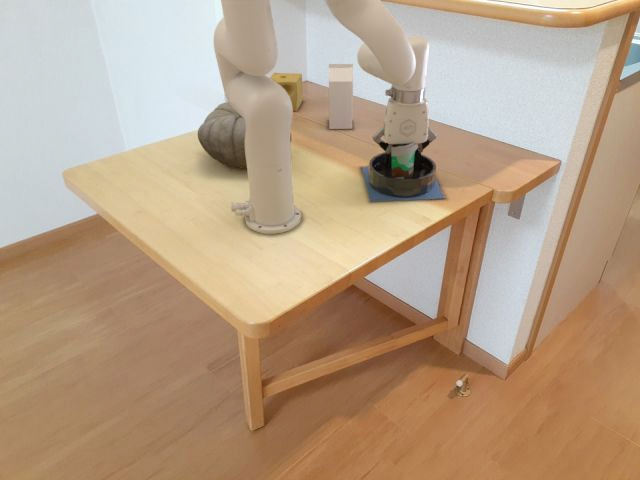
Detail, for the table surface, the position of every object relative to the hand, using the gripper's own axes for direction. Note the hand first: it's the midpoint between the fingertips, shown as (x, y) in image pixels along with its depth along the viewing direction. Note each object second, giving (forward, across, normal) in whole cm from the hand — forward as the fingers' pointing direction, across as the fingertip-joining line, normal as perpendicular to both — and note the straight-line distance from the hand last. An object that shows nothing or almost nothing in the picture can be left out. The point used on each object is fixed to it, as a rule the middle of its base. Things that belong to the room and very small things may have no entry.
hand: (402, 164), depth 127 cm
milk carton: (+5, -12, +39) cm, 41 cm away
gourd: (+5, -40, +17) cm, 44 cm away
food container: (+3, +1, 0) cm, 3 cm away
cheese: (+5, -29, +58) cm, 65 cm away
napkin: (+5, 0, 0) cm, 5 cm away
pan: (+5, 0, 0) cm, 5 cm away
